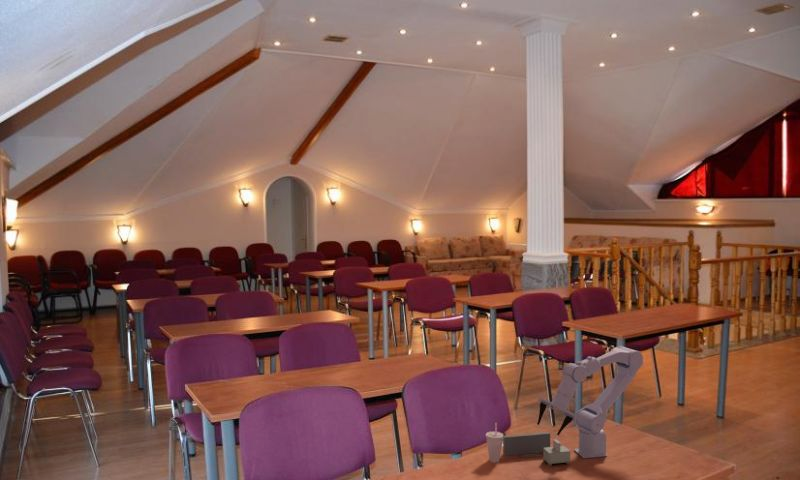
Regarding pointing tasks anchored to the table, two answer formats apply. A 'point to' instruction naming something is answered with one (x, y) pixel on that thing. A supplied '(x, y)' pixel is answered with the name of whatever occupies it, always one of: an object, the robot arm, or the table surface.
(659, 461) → the table surface
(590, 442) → the robot arm
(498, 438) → the smoothie
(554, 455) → the grey block
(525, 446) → the wall board
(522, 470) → the table surface
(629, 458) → the table surface
